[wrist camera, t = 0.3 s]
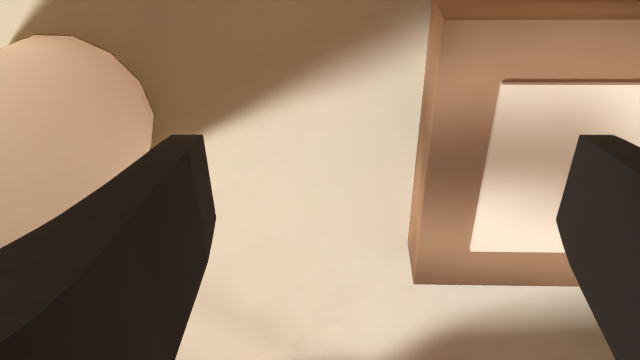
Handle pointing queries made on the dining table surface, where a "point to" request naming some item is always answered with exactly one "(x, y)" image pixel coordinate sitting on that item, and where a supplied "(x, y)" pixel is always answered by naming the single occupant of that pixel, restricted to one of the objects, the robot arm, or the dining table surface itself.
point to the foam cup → (63, 127)
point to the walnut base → (514, 131)
